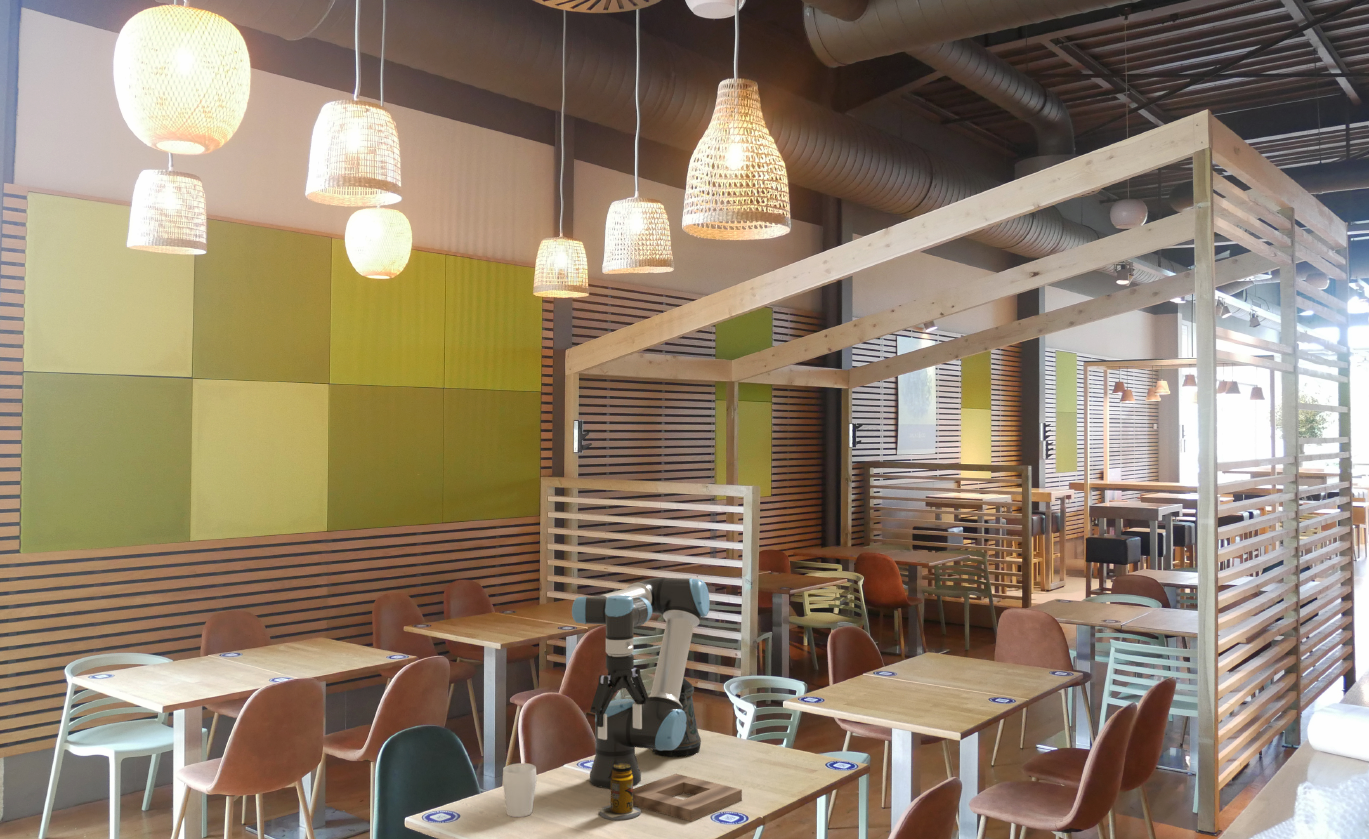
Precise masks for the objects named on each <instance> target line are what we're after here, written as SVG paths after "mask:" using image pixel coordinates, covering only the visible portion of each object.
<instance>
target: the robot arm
mask: <svg viewBox="0 0 1369 839" xmlns="http://www.w3.org/2000/svg"><path fill="white" fill-rule="evenodd" d="M710 605H711V604H710V593H709V589H708V586H707V584H706V582H705V581H704V580H703V579H700V578H692V577H688V578H684V577H682V578H679V577H664V576H663V577H652V578H648V579H643V580H641V581H637V582H633V583H631V584H630V585H628V586H627V587H626V588H623V589H620V590H615V591H612V592H608V593H605V594H600V595H596V596H587V595H586V596H578V597H576V598H575V599H574V601H573V602H572V607H571V616H572V619H573V620H574V622H575V623H578V624H584V625H605V653H606V655H605V668H606V670H607V675H604V674H600V675H599V676H598V685H597V688H596V690H595V694H594V695H593V696H594V697H593V700H592V703H591V707H590V709H589V710H590V713H593V714H595V719H594V722H595V725H594V726H595V756H594V759H593V763H592V766H591V770H590V772H589V783H590V784H591V785H593V786H596V787H598V788H599V787H600V788H605V789H611V776H612V767H613V765H615V764H621V763H623V764H624V763H625V764H629V765H631V767H632V769H631V771H632V773H631V774H632V776H633V786H635V785H638V784H640V783H641V781H642V778H641V777H642V774H641V769H640V768H639V764H638V760H637V756H636V748H637V749H638V748H639V749H648V750H652V749H656V750H661V751H662V750H674V749H675V748H677V747H678V746H679V745H680V743H681V741H682V739H683V737H684V734H685V730H686V714H685V712H684V711H683V710H682V705H681V703H680V702H679V697H680V692H681V687H682V682H683V677H684V676H685V671H686V667H687V661H688V656H689V652H690V646H691V642H692V637H693V634H694V633H693V631H694V628H696V627H698V626H699V625H700V623H701V622H700V621H701V618H704V617H707V616H708V614H709V612H710ZM654 614H655V615H662V617H663V619H664V621H665V622H666V623H665V626H664V627H665V628H664V633H663V636H662V641H661V646H660V651H659V655H658V659H657V664H656V669H655V672H654V678H653V682H652V688H651V689H650V690H651V691H650V694H648V691H647V690H646V688H645V684H644V681H643V679H642V676H641V675H642V674H641V669H640V668H637V667H634V666H635V663H634V654H633V652H634V628H635V627H638V626H639V627H640V626H642V625H644V624H645V623H647V622H648V621H649V620H651V617H652V615H654ZM684 678H685V677H684ZM622 689H625V690H626V692H628V694H629V696H630V697H631V698H632V699H630V698H622V699H614V700H612V699H613V698H614V695H615V694H616V693H617V692H618V691H620V690H622Z"/></svg>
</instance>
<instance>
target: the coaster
mask: <svg viewBox="0 0 1369 839" xmlns="http://www.w3.org/2000/svg"><path fill="white" fill-rule="evenodd" d="M609 807H611V804H609V805H607V806H604V807H602V808H601V809H605V808H609ZM633 809H635V810H637V811H639V812H637V813H633V814H628V815H621V816H617V817H613V818H611V817H609V816H608V815H606V814H604V813H602V812H601V811H598V812H599V816H600V817H601V818H603V819H605V820H609V821H611V820H612V821H627V820H632V819H635V818H637V817H639V816H640V815H641V813H642V810H641V807H637V806H634V805H633Z"/></svg>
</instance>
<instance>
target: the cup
mask: <svg viewBox="0 0 1369 839" xmlns="http://www.w3.org/2000/svg"><path fill="white" fill-rule="evenodd" d="M502 771H503V772H502V785H503V787H502V788H503V793H504V794H503V795H504V801H505V807H506V808H505V809H506V815H508V816H509V817H511V818H512V817H513V818H525V817H528V816H530V815H531V814H532V813H533V808H534V802H535V801H534V800H535V794H536V793H535V792H536V786H537V778H538V777H537V767H536V765H534V764H533V763H526V762H524V763H520V762H519V763H512V764H509V765H506V766H504V767H503V770H502Z"/></svg>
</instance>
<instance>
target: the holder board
mask: <svg viewBox="0 0 1369 839" xmlns="http://www.w3.org/2000/svg"><path fill="white" fill-rule="evenodd" d="M681 794H686V795H690V797H687V798H684V799H682V798H678V797H677V796H679V795H681ZM742 797H743V790H742V789H740V788H737V787H733V786H728V785H725V784H720V783H717V782H712V781H708V780H704V779H699V778H695V777H692V776H687V775H684V774H681V773H680V774H679V773H674V774H671V775H668V776H665V777H663V778H660V779H657V780H654V781H651V782H649V783H645V784H643V785H640V786H637V787H633V806H634V805H635V806H636V807H637V806H638V808H640V809H645V810H648V811H652V812H656V813H660V814H663V815H667V816H669V817H670V816H671V817H674V818H677V819H681V820H684V821H689V822H693V821H696V820H699V819H700V818H704V817H706V816H708V815H711V814H714V813H715V812H718V811H720V810H722V808H723V809H724V808H727V807H729V805H730V806H732V805H735V804H737V803H739V801H740V802H742V801H743V798H742Z"/></svg>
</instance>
